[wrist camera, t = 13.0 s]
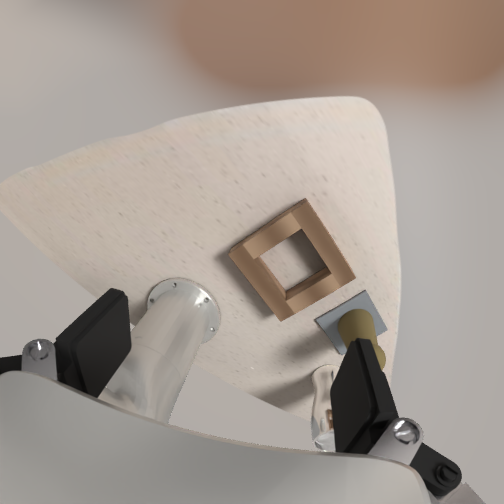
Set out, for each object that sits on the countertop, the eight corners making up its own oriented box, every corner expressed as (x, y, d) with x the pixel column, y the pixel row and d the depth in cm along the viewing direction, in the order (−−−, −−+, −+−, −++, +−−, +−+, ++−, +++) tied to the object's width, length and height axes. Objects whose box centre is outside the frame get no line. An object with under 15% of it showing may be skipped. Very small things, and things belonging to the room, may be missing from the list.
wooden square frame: (281, 311, 45) (280, 321, 42) (232, 247, 42) (228, 254, 39) (351, 269, 41) (355, 277, 38) (305, 197, 39) (307, 201, 36)
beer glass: (306, 365, 48) (309, 433, 34) (345, 359, 47) (358, 425, 33) (311, 391, 50) (313, 455, 36) (347, 385, 49) (357, 448, 35)
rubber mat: (341, 354, 46) (341, 355, 46) (315, 318, 45) (316, 319, 44) (387, 328, 44) (387, 329, 43) (365, 289, 42) (365, 290, 42)
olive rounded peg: (368, 339, 44) (383, 384, 34) (334, 339, 45) (343, 385, 35) (376, 309, 42) (396, 351, 32) (340, 307, 43) (353, 352, 33)
